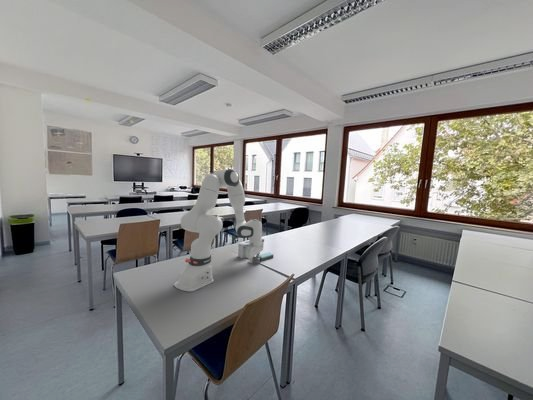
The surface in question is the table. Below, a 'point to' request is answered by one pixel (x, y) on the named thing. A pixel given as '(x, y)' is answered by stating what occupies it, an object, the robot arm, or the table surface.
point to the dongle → (255, 260)
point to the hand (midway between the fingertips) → (254, 260)
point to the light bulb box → (242, 249)
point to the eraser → (265, 256)
